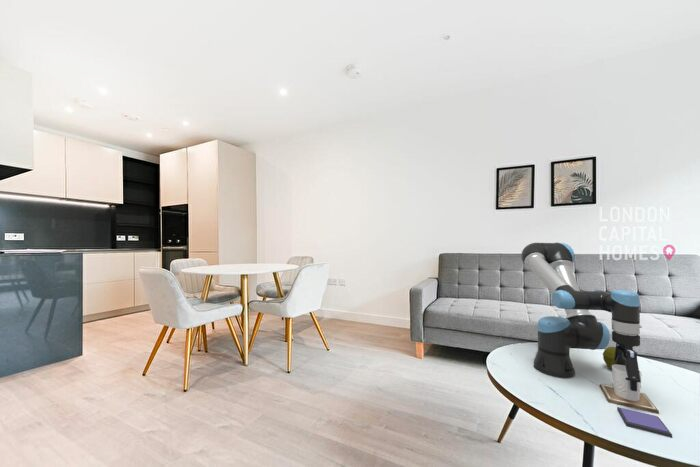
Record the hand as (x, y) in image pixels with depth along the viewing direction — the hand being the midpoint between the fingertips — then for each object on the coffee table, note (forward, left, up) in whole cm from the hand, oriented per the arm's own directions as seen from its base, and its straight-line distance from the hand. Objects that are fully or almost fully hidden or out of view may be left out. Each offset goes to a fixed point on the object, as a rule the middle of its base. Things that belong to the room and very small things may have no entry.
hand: (626, 390), depth 105 cm
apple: (+4, +30, -3) cm, 30 cm away
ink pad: (0, -16, -3) cm, 16 cm away
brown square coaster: (0, 0, -3) cm, 3 cm away
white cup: (0, 0, -2) cm, 2 cm away
